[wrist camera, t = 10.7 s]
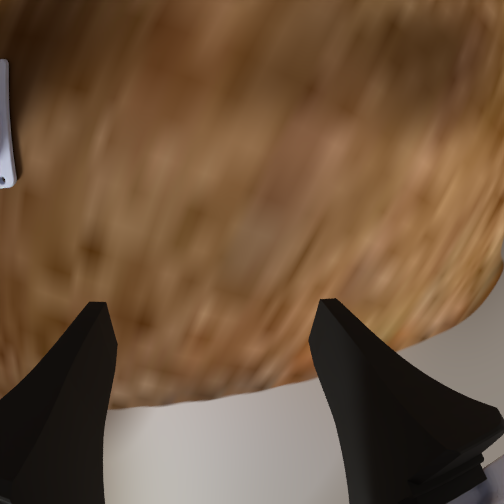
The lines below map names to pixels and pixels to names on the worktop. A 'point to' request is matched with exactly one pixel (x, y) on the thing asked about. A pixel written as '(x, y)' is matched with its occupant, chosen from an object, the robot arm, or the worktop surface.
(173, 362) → the worktop surface
